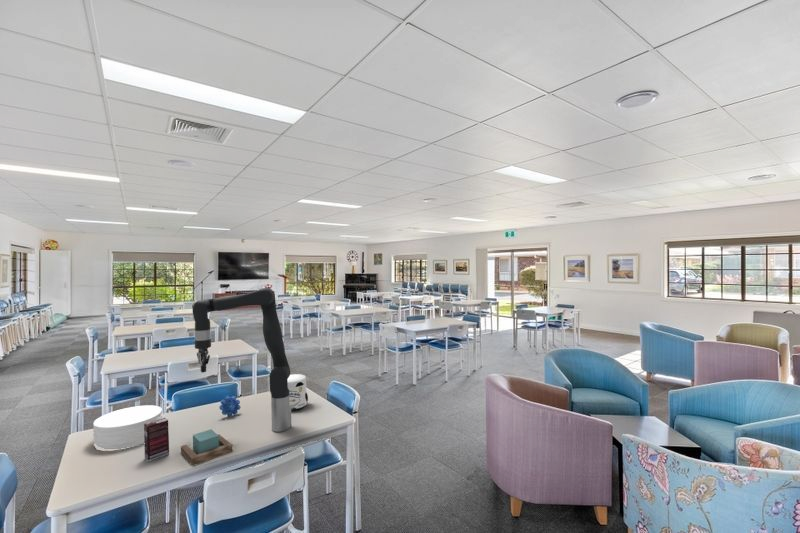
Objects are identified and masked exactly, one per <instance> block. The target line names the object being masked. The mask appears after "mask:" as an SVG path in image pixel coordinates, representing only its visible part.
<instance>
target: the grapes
mask: <svg viewBox="0 0 800 533" xmlns="http://www.w3.org/2000/svg"><path fill="white" fill-rule="evenodd" d="M240 403H241V401H240V400H239V399H237V397H236V396H234V395H233V396H229V395H227V396H225V398H224V399H222V400H220V404H221V405H220V406H219V410H221V414H222V415H223V416H225V415H226V416H227V417H230V418H231V417H232V416H233V415H234V416H235V415H237V414H238V411H239V410H240V409H241V405H240Z"/></svg>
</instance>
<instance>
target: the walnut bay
mask: <svg viewBox="0 0 800 533" xmlns="http://www.w3.org/2000/svg"><path fill="white" fill-rule="evenodd" d="M217 435H219V447H217V448H214V449H212V450H209V451H206V452H203V453H200V454H197V455H196V453H195V452H194V451H193V448H191V447H190V445H188V444H183V445H181V446H180V454H181V455H182V456H183V457H184V459H186V461H187V462H188V463H189V462H190V463H191V464H190V463H189V464H190V465H191V466H192V465H193V466H196V465H199V464H200V463H204V462H207V461H209V460H213V459H215V458H218V457H220V456H224V455H227V454H229V453H231V452H233V444H232V443H231V442H230V441H229V440H227V439H226V438H225V437H223V436H222V435H221V434H219V433H217ZM195 464H196V465H195Z"/></svg>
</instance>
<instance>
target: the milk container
mask: <svg viewBox="0 0 800 533" xmlns="http://www.w3.org/2000/svg"><path fill="white" fill-rule="evenodd" d="M287 381H288V389H289V397H290V409H291V411H296V410H300V409H302V408H304V407H306V405H308V401H309V394H308V392H307V377H306V375H304V374H300V373H299V374H298V373H297V374H295V373H294V374H293V373H292V374H290V376H289V378H288V379H287Z"/></svg>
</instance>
